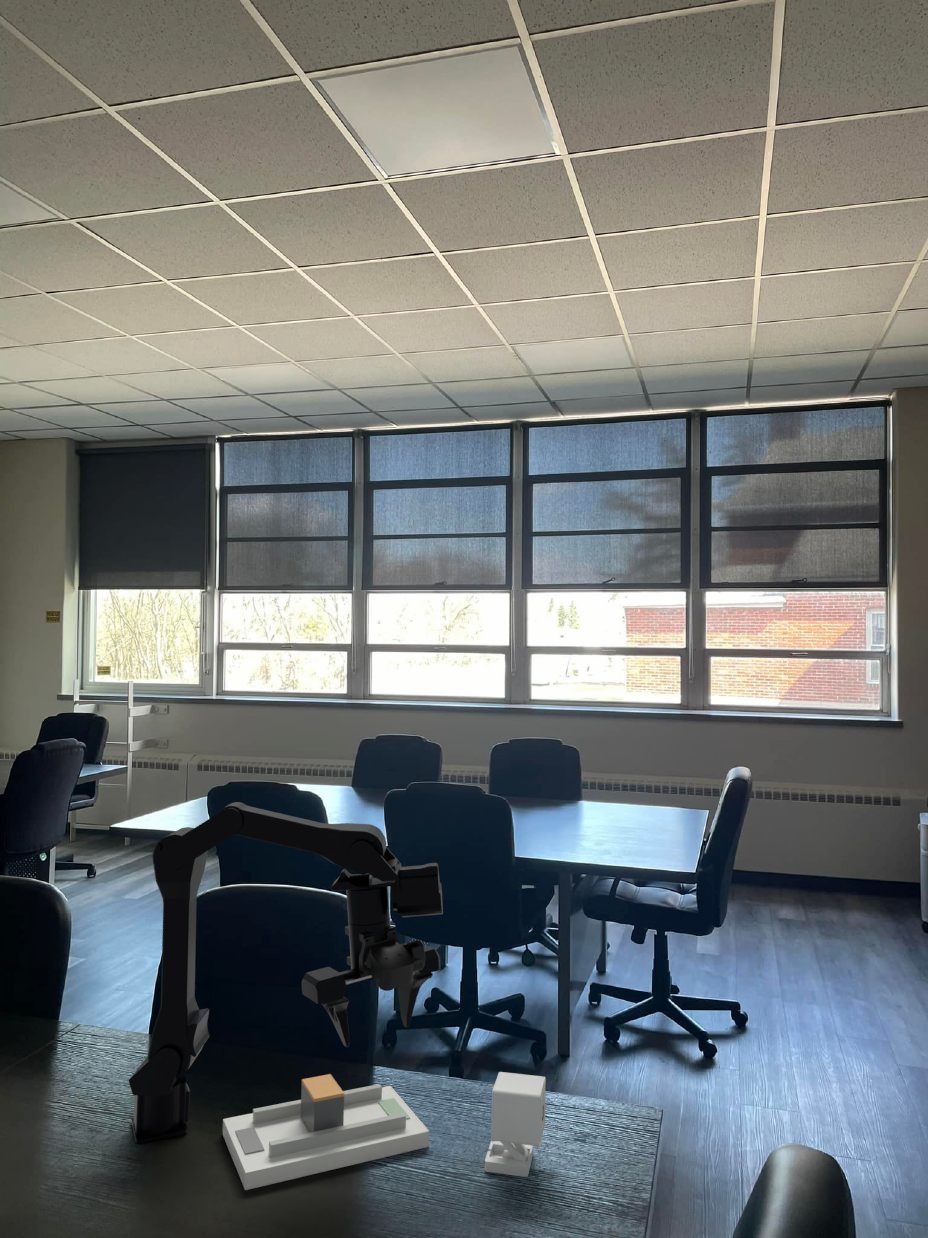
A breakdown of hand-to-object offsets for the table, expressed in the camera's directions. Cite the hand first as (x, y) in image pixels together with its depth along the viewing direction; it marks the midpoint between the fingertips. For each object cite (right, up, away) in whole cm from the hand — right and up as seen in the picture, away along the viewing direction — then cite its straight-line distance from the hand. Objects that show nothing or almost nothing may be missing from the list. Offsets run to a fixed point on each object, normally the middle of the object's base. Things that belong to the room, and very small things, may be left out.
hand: (376, 1036), depth 120 cm
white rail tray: (-7, -12, -3) cm, 14 cm away
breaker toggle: (-7, -10, -3) cm, 13 cm away
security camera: (+18, -13, -8) cm, 24 cm away
